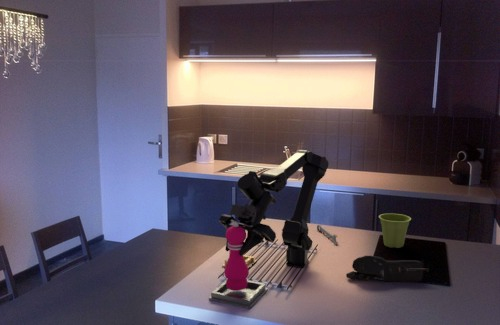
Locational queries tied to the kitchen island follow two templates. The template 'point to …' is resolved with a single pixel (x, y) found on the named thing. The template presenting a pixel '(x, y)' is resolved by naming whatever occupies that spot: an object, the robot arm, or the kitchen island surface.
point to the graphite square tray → (239, 294)
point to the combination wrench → (327, 233)
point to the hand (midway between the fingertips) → (233, 252)
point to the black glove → (386, 269)
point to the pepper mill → (236, 259)
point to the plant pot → (394, 229)
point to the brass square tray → (248, 260)
